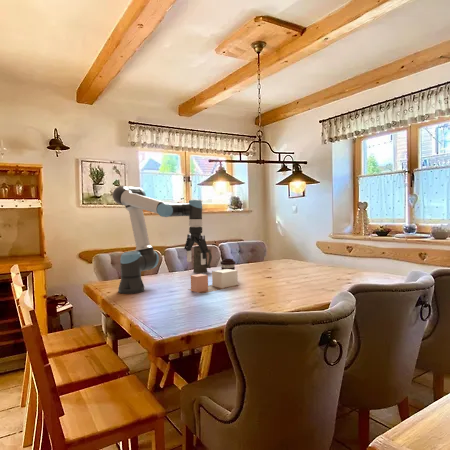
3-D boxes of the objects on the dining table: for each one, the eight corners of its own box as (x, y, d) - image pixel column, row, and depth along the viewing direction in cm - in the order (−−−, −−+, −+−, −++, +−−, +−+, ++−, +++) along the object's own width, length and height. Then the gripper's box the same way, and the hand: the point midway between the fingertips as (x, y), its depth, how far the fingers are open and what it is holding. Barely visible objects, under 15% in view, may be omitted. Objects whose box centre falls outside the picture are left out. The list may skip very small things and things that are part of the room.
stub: (197, 292, 203) (196, 276, 203) (191, 290, 208) (190, 275, 207) (208, 290, 208) (207, 274, 208) (201, 288, 213) (201, 273, 212)
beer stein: (190, 272, 274) (191, 246, 272) (195, 270, 284) (196, 245, 283) (209, 274, 269) (210, 248, 268) (213, 272, 279) (215, 246, 278)
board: (201, 294, 200) (201, 293, 200) (187, 290, 211) (187, 289, 211) (240, 286, 220) (240, 285, 220) (225, 283, 230) (225, 282, 230)
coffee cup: (234, 283, 230) (233, 260, 229) (219, 283, 232) (218, 260, 231) (236, 280, 240) (236, 258, 239) (222, 280, 242) (222, 258, 241)
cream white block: (221, 288, 213) (221, 272, 213) (212, 285, 220) (212, 271, 220) (237, 284, 222) (237, 270, 221) (228, 282, 228) (227, 268, 228)
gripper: (214, 227, 198) (214, 264, 199) (188, 225, 217) (189, 260, 218) (203, 227, 193) (204, 266, 194) (178, 226, 212) (178, 261, 213)
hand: (196, 263), depth 206 cm, fingers open, 13 cm apart
